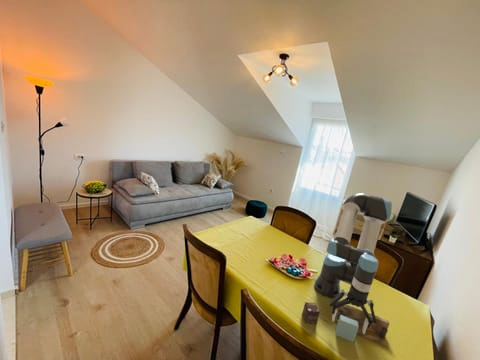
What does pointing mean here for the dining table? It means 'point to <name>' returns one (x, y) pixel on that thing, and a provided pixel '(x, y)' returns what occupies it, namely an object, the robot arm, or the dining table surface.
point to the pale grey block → (347, 328)
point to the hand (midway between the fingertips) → (347, 325)
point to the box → (310, 312)
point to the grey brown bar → (360, 317)
